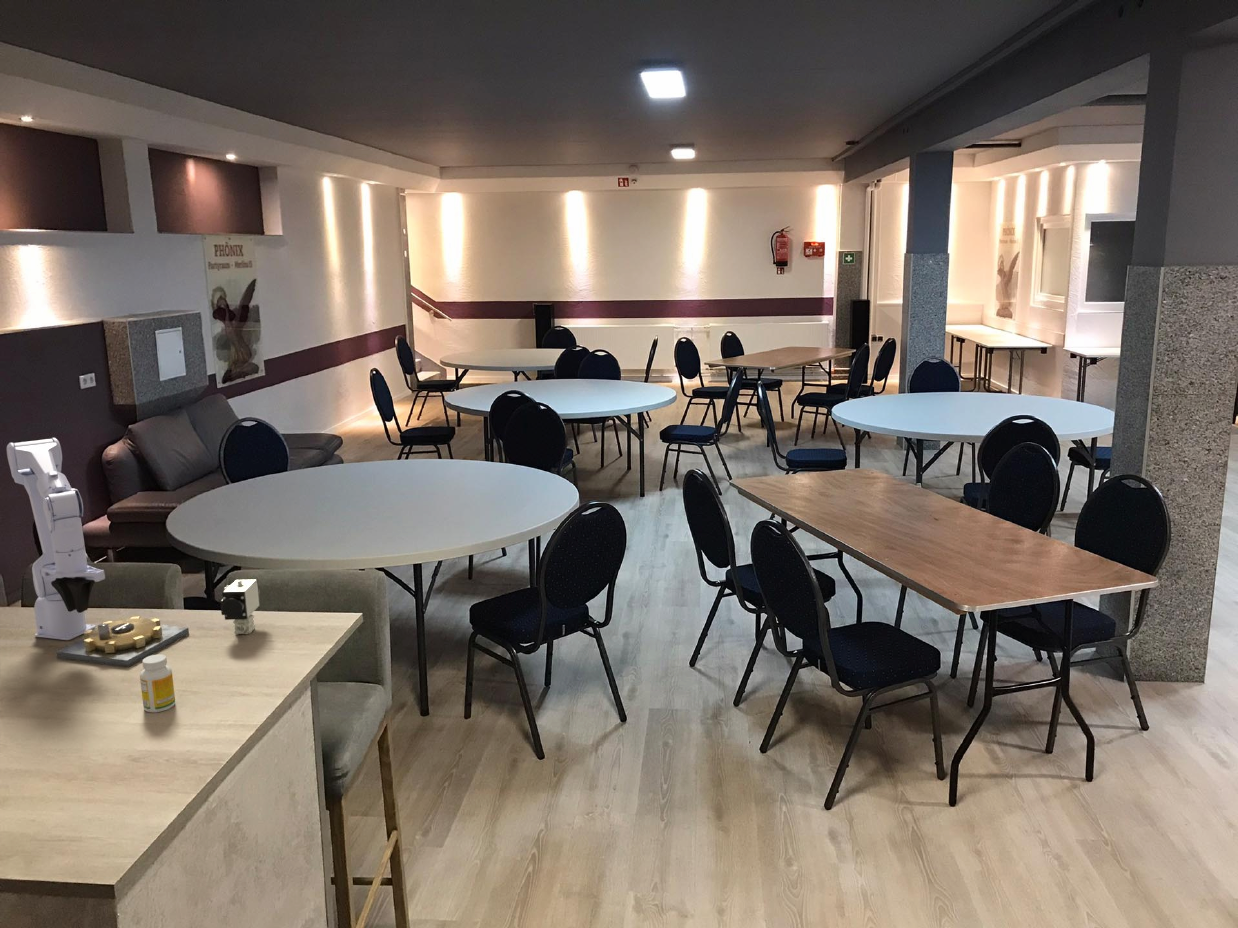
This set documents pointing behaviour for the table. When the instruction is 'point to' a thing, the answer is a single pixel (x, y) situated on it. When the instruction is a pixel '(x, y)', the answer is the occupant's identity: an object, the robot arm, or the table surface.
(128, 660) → the cap plate
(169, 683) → the supplement bottle
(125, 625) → the blocky toothed spur gear
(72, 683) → the table surface
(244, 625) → the pneumatic valve
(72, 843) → the table surface
